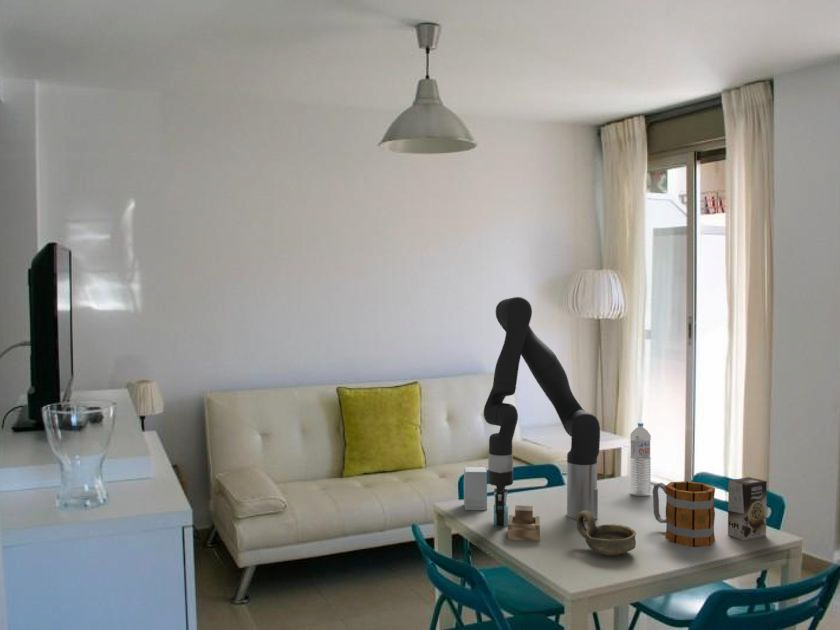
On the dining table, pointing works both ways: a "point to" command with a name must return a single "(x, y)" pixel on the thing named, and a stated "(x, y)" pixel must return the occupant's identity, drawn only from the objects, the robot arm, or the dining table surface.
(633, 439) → the water bottle
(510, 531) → the oak base
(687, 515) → the mug
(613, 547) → the bowl
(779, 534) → the dining table surface
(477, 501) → the supplement box
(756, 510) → the coffee box
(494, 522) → the teal cylinder
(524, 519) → the walnut block
